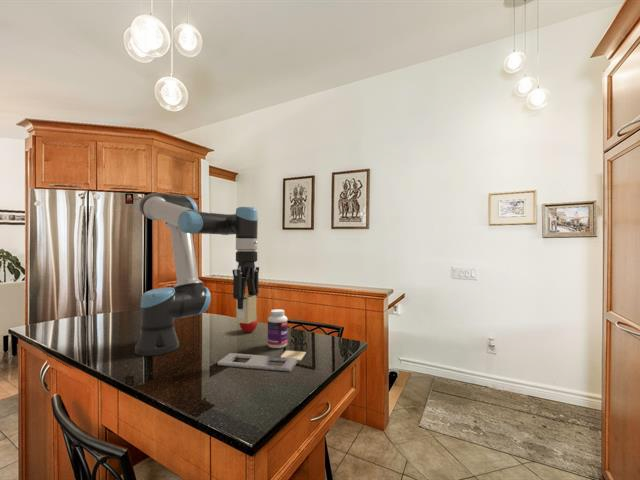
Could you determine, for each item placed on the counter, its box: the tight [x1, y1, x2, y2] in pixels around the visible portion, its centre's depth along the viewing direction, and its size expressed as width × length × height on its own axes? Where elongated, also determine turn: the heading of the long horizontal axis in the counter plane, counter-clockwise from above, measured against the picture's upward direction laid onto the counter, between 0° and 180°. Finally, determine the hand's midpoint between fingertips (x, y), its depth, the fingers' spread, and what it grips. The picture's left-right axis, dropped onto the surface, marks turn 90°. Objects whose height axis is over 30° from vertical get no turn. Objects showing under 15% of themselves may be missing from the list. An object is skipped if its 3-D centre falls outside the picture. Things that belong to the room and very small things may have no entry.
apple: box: [239, 316, 259, 333], centre depth 145 cm, size 8×8×10 cm
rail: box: [217, 352, 299, 373], centre depth 107 cm, size 26×9×1 cm, turn 79°
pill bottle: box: [267, 308, 289, 349], centre depth 125 cm, size 8×8×14 cm
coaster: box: [280, 350, 307, 362], centre depth 114 cm, size 8×8×1 cm
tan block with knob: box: [235, 293, 257, 324], centre depth 109 cm, size 5×5×9 cm
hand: (246, 316), depth 109 cm, fingers closed on tan block with knob, 5 cm apart
